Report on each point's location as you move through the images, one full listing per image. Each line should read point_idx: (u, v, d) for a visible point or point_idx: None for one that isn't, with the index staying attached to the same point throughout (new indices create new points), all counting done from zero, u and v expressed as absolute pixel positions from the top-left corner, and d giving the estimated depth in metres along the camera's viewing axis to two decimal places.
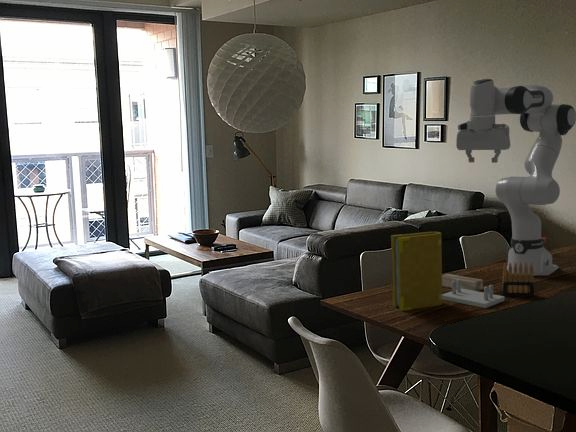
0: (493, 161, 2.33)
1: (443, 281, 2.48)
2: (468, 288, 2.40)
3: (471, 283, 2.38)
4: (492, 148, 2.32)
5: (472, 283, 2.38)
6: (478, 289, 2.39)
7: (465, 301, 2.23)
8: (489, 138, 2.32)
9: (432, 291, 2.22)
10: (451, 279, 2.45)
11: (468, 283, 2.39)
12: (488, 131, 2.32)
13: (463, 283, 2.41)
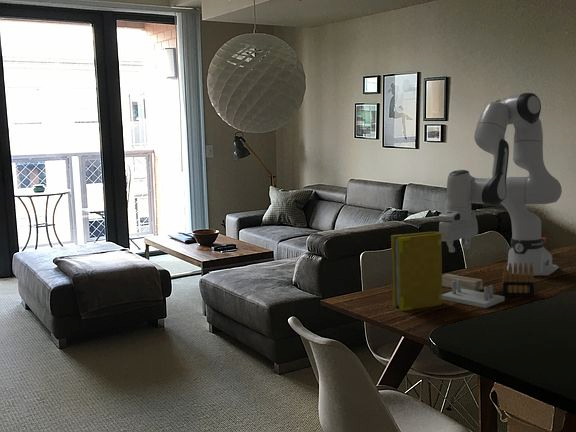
0: (468, 247, 2.46)
1: (443, 281, 2.48)
2: (468, 288, 2.40)
3: (471, 283, 2.39)
4: (470, 235, 2.44)
5: (472, 283, 2.38)
6: (478, 289, 2.39)
7: (465, 301, 2.23)
8: (468, 226, 2.43)
9: (432, 291, 2.22)
10: (451, 279, 2.45)
11: (468, 283, 2.40)
12: (468, 219, 2.43)
13: (463, 283, 2.41)
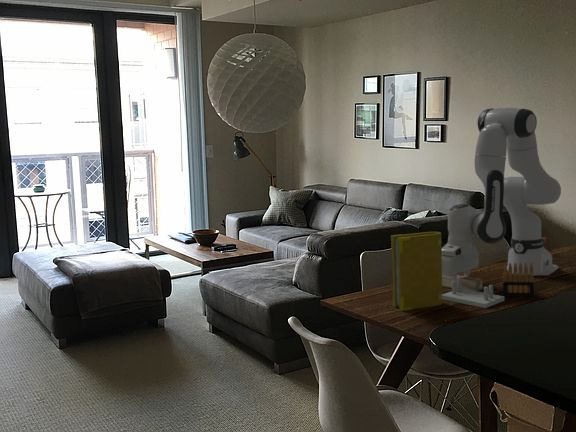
0: None
1: (443, 281, 2.48)
2: (468, 288, 2.40)
3: (471, 283, 2.39)
4: (471, 268, 2.46)
5: (472, 283, 2.38)
6: (478, 289, 2.39)
7: (465, 301, 2.23)
8: (469, 259, 2.45)
9: (432, 291, 2.22)
10: (451, 279, 2.45)
11: (468, 283, 2.40)
12: (469, 253, 2.44)
13: (463, 282, 2.41)
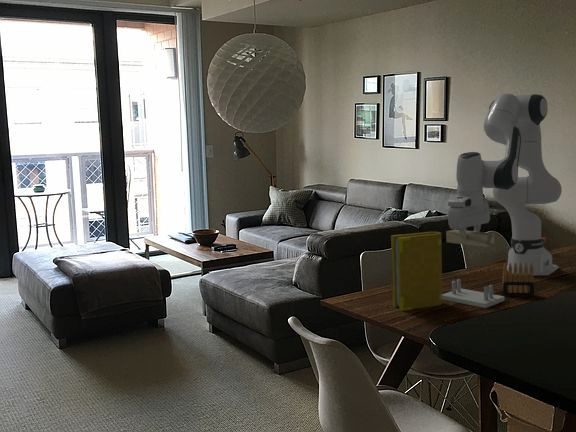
0: None
1: (451, 236, 2.29)
2: (478, 242, 2.20)
3: (482, 236, 2.19)
4: (482, 222, 2.27)
5: (483, 236, 2.19)
6: (489, 243, 2.20)
7: (465, 301, 2.23)
8: (479, 212, 2.26)
9: (432, 291, 2.22)
10: None
11: (478, 236, 2.20)
12: (479, 205, 2.25)
13: (473, 237, 2.22)
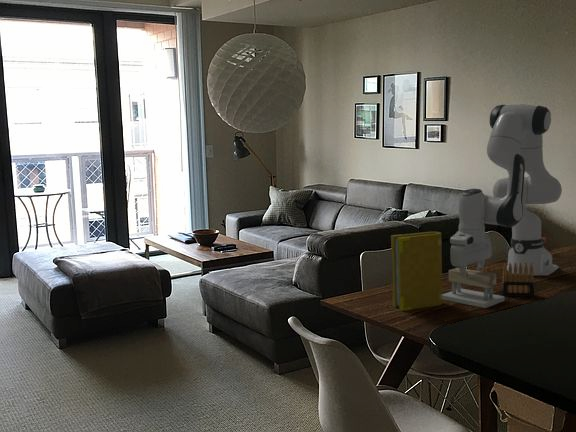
0: (481, 271, 2.29)
1: (453, 276, 2.30)
2: (480, 283, 2.21)
3: (484, 277, 2.20)
4: (484, 258, 2.28)
5: (485, 277, 2.20)
6: (491, 284, 2.21)
7: (465, 301, 2.23)
8: (481, 249, 2.27)
9: (432, 291, 2.22)
10: None
11: (480, 277, 2.21)
12: (481, 242, 2.26)
13: (475, 277, 2.23)
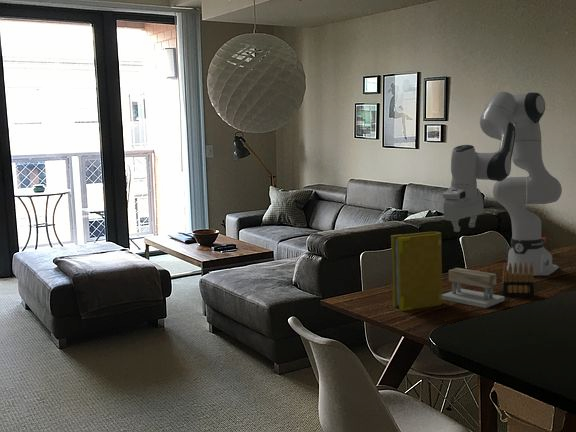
0: (473, 226, 2.35)
1: (453, 276, 2.30)
2: (480, 283, 2.21)
3: (484, 277, 2.20)
4: (476, 213, 2.33)
5: (485, 277, 2.20)
6: (491, 284, 2.21)
7: (465, 301, 2.23)
8: (473, 204, 2.32)
9: (432, 291, 2.22)
10: (462, 273, 2.27)
11: (480, 277, 2.21)
12: (473, 197, 2.31)
13: (475, 277, 2.23)
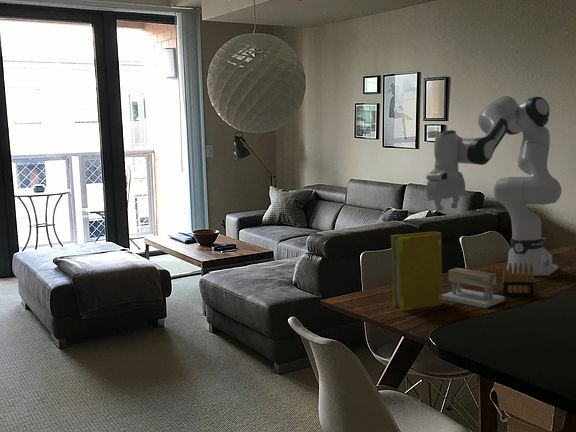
0: (456, 207, 2.50)
1: (453, 276, 2.30)
2: (480, 283, 2.21)
3: (484, 277, 2.20)
4: (458, 195, 2.49)
5: (485, 277, 2.20)
6: (491, 284, 2.21)
7: (465, 301, 2.23)
8: (455, 186, 2.48)
9: (432, 291, 2.22)
10: (462, 273, 2.27)
11: (480, 277, 2.21)
12: (455, 179, 2.47)
13: (475, 277, 2.23)
